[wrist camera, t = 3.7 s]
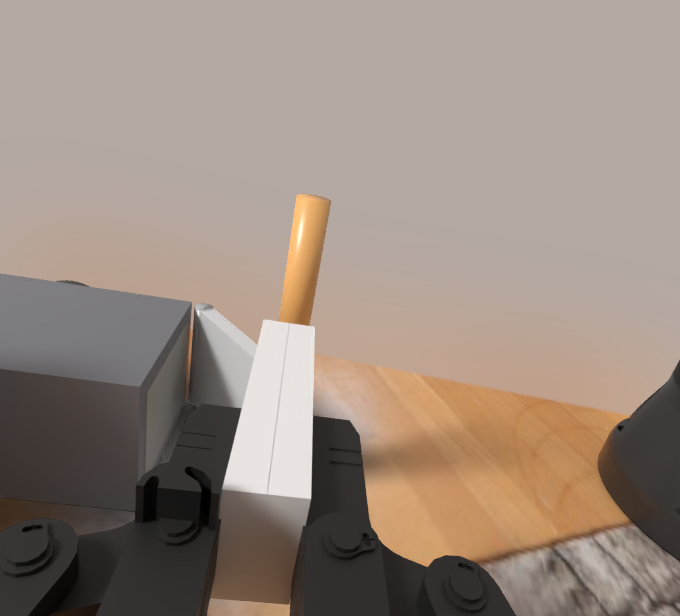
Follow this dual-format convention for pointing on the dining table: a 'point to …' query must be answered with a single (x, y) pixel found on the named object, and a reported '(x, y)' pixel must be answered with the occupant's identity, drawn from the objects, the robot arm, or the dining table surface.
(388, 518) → the dining table surface
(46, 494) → the box
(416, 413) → the dining table surface
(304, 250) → the side door
